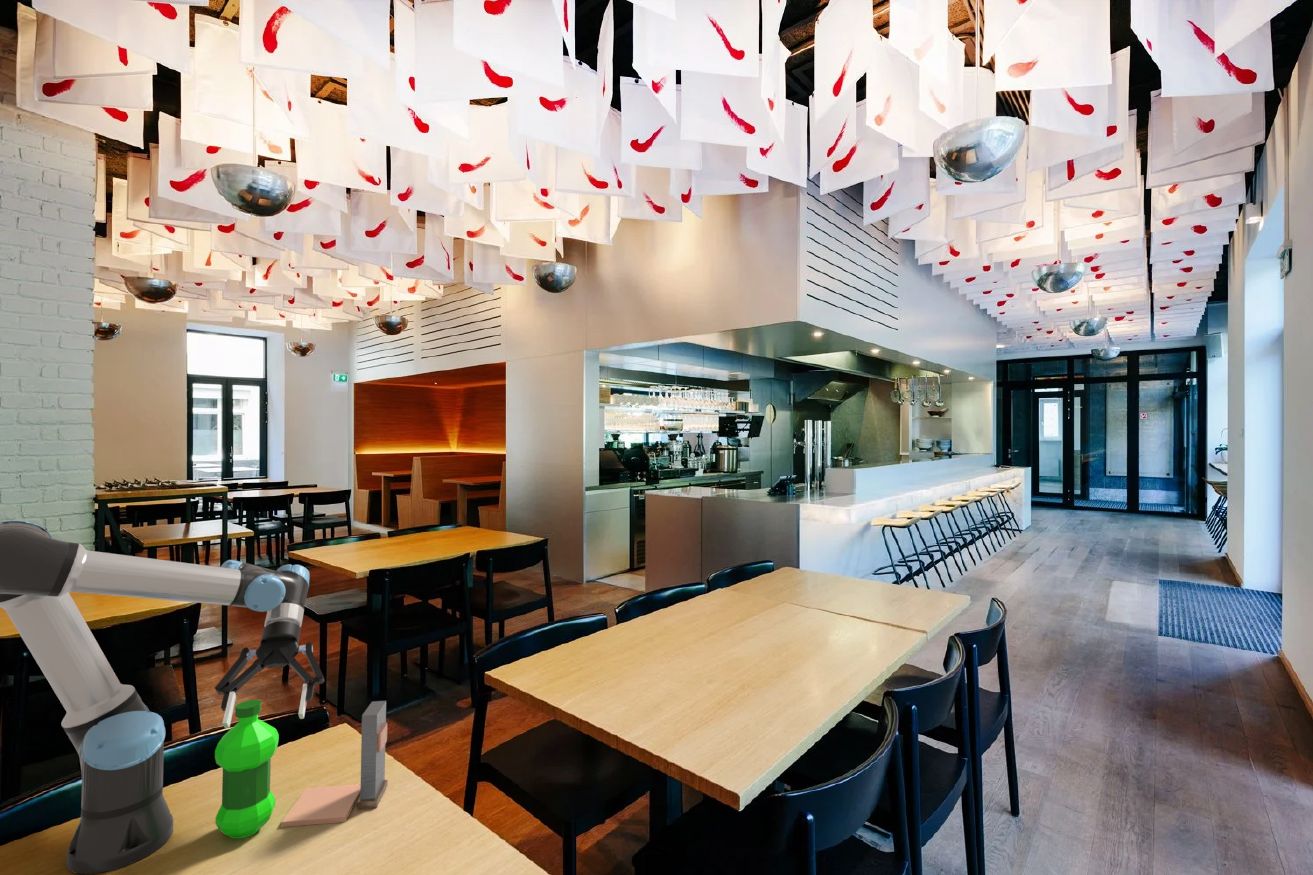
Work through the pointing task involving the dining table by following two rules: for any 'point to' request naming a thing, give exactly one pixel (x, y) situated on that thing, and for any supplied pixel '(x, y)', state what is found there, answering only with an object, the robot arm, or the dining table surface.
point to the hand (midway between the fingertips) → (264, 721)
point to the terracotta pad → (323, 805)
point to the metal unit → (373, 755)
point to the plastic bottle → (246, 772)
